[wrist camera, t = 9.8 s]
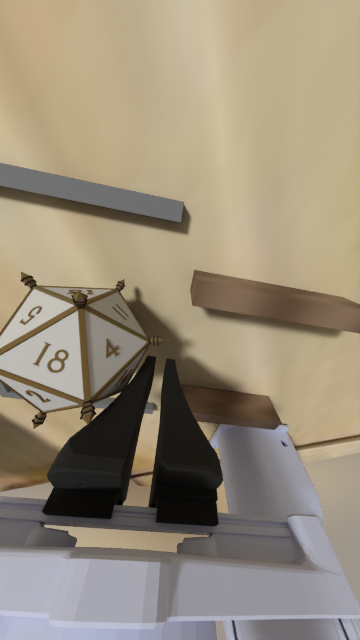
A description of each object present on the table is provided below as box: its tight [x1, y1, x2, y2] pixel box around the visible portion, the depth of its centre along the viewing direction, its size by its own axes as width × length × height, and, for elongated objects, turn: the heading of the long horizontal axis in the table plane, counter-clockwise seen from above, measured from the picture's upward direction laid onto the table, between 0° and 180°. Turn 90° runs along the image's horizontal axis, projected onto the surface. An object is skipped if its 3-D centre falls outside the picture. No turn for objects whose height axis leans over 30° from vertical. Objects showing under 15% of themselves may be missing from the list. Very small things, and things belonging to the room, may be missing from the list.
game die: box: [0, 272, 164, 428], centre depth 10 cm, size 9×8×10 cm
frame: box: [0, 163, 184, 414], centre depth 14 cm, size 18×22×1 cm
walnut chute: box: [181, 270, 360, 430], centre depth 14 cm, size 12×14×3 cm
